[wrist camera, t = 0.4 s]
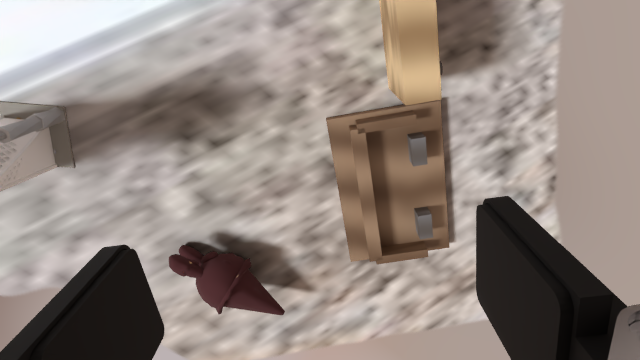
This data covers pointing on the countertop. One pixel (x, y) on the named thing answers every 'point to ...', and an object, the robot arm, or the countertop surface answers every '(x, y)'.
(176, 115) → the countertop surface
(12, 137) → the cheese grater
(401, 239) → the cabinet base
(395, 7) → the door panel
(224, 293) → the icecream
